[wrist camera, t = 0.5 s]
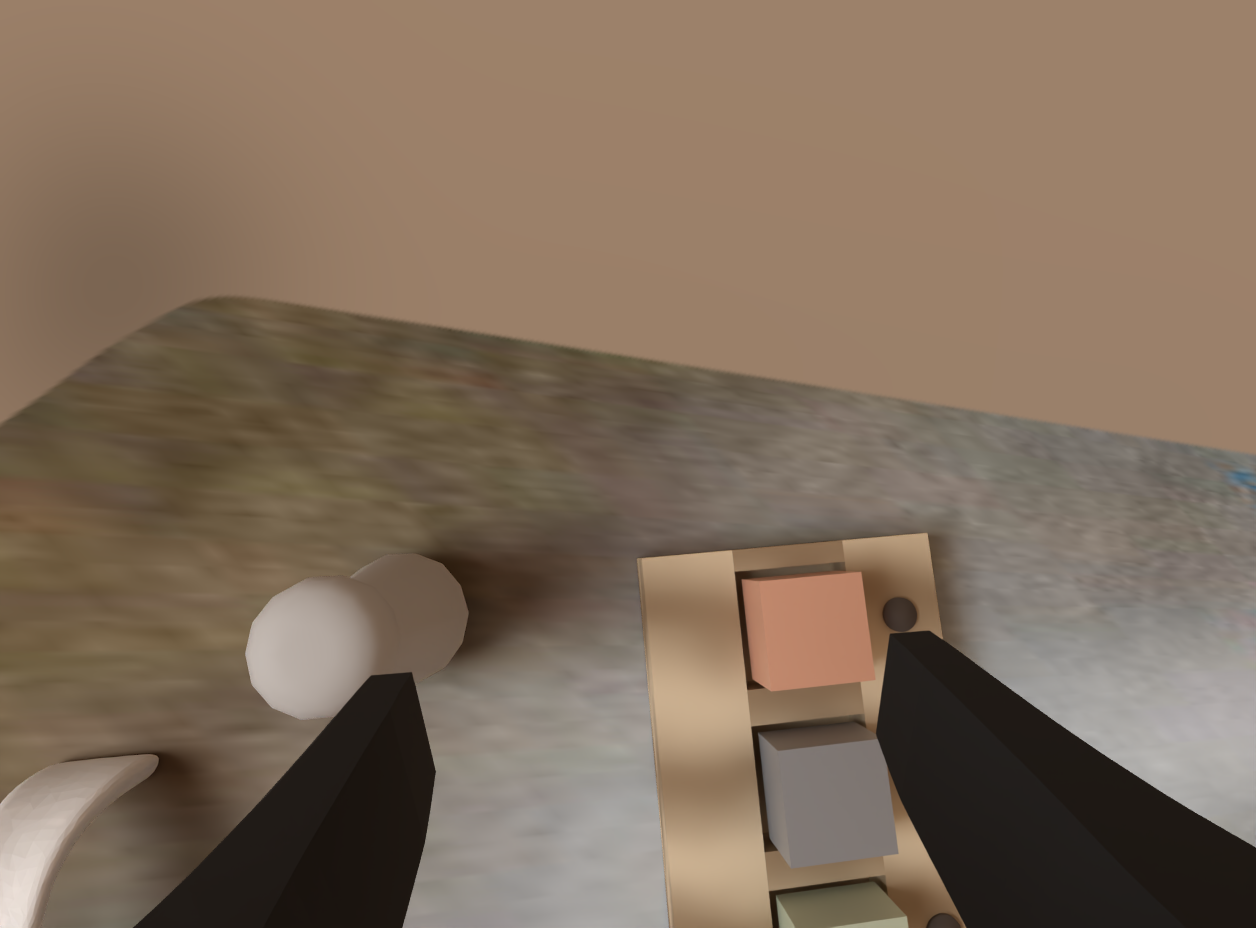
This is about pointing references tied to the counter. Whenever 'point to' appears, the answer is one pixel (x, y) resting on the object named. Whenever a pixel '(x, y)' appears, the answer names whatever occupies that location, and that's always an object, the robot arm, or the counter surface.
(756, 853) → the tan wooden slotted tray
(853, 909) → the key sage
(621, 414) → the counter surface
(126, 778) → the light grey curved piece
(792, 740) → the key slate
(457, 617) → the salt shaker
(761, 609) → the key terracotta
